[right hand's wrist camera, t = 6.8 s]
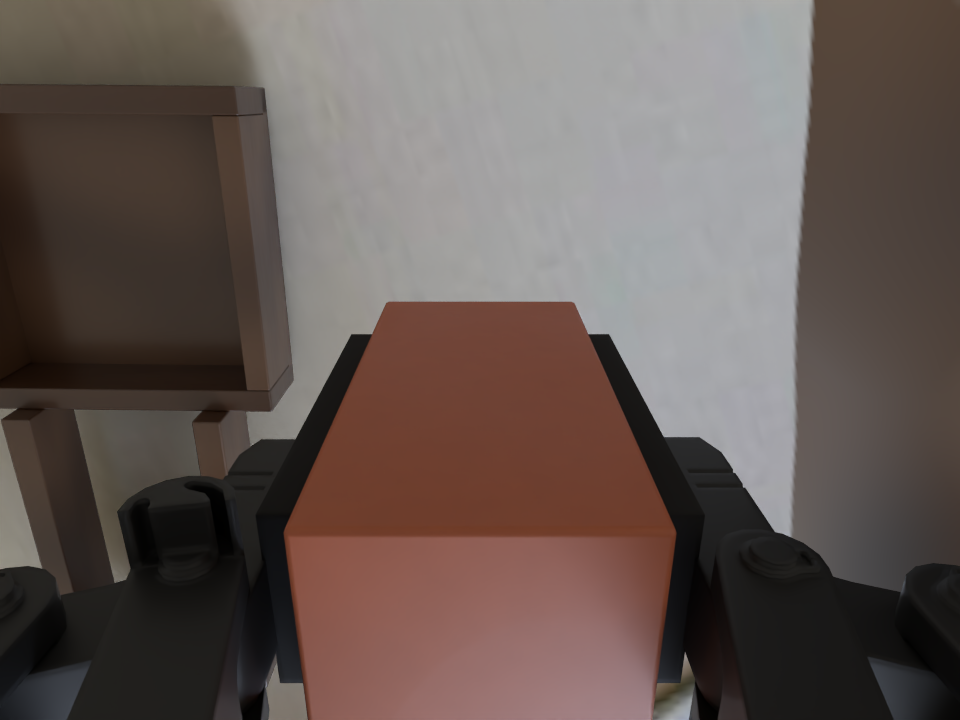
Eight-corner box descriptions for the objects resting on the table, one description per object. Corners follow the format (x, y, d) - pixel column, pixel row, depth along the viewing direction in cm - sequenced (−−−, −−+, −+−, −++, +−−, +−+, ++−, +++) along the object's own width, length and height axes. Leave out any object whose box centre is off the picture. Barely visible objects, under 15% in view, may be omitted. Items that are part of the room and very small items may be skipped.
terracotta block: (385, 300, 14) (280, 530, 7) (575, 300, 14) (679, 530, 7) (394, 465, 16) (316, 803, 8) (565, 465, 16) (643, 803, 8)
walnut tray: (-53, 84, 27) (-150, 82, 23) (264, 87, 27) (224, 85, 23) (86, 619, 37) (36, 684, 33) (318, 622, 37) (297, 688, 33)
